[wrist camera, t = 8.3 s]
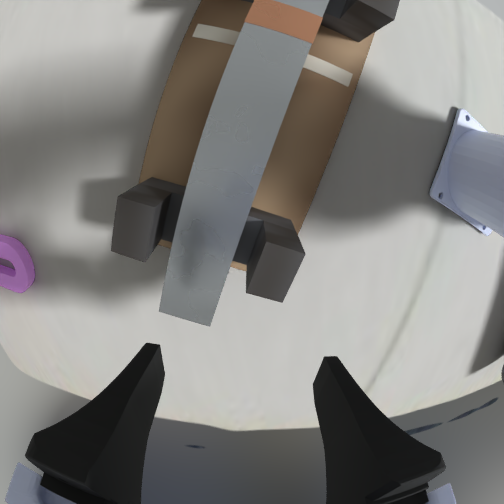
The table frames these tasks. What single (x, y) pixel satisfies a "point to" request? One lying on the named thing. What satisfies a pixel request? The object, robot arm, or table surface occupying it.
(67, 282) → the table surface
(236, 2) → the board
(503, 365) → the bluetooth speaker
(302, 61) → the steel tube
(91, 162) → the table surface
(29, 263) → the bracket
